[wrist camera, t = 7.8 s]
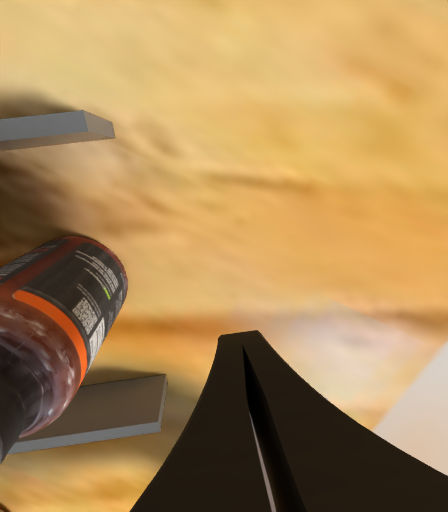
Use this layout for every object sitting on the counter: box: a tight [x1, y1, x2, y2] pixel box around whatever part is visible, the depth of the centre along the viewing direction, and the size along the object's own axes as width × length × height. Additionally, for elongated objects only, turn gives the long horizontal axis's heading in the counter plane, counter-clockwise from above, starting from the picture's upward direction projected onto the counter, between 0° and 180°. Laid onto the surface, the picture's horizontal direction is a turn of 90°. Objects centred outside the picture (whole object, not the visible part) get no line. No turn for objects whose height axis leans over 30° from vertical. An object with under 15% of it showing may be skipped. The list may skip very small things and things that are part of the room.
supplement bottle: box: [0, 236, 128, 464], centre depth 13 cm, size 6×6×11 cm
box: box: [0, 110, 168, 454], centre depth 16 cm, size 18×13×4 cm
